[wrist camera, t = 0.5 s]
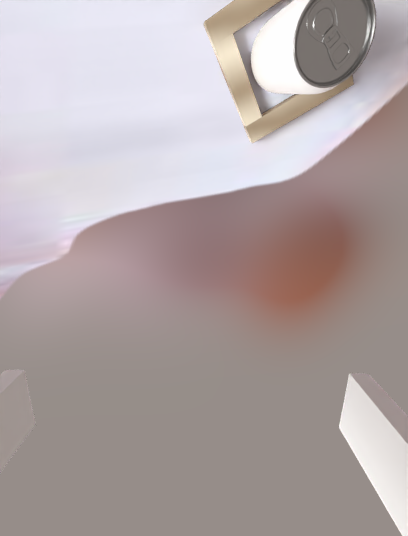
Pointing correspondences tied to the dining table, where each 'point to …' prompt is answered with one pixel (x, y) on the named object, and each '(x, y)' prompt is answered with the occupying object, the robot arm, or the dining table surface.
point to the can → (313, 45)
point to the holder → (224, 45)
